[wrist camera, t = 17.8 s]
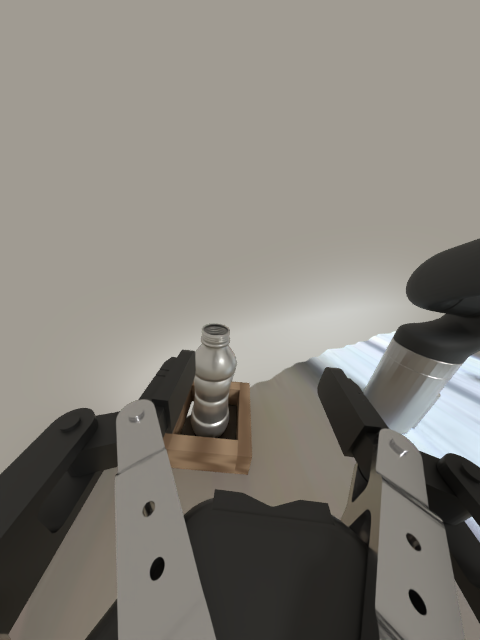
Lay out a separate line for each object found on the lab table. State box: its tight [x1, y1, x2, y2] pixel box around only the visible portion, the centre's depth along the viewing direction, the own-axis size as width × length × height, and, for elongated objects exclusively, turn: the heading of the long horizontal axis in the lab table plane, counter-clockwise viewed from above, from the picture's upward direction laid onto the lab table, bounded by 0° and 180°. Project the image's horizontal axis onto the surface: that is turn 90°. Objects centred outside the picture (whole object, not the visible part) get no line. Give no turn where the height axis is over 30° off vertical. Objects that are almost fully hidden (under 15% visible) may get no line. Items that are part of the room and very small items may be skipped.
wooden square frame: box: [163, 381, 252, 475], centre depth 30 cm, size 14×14×4 cm
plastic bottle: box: [191, 324, 237, 438], centre depth 27 cm, size 6×7×20 cm
